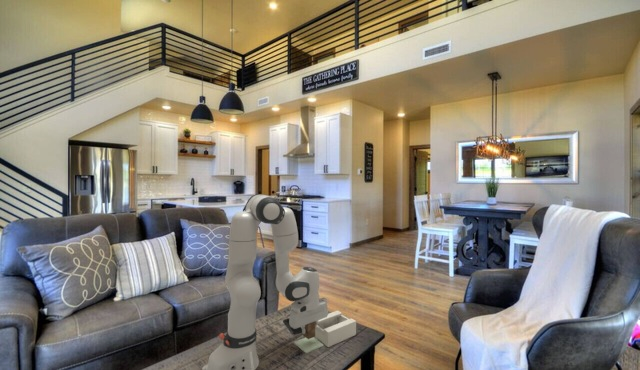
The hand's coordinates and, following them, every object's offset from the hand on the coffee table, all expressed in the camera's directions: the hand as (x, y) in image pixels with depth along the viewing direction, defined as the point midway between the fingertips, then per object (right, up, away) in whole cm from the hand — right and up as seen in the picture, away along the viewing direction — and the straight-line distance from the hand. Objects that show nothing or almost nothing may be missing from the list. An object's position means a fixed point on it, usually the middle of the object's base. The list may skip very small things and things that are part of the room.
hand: (309, 331), depth 141 cm
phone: (-8, -6, +17) cm, 20 cm away
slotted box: (+12, -6, +9) cm, 16 cm away
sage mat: (0, -6, 0) cm, 6 cm away
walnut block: (0, -2, 0) cm, 2 cm away
